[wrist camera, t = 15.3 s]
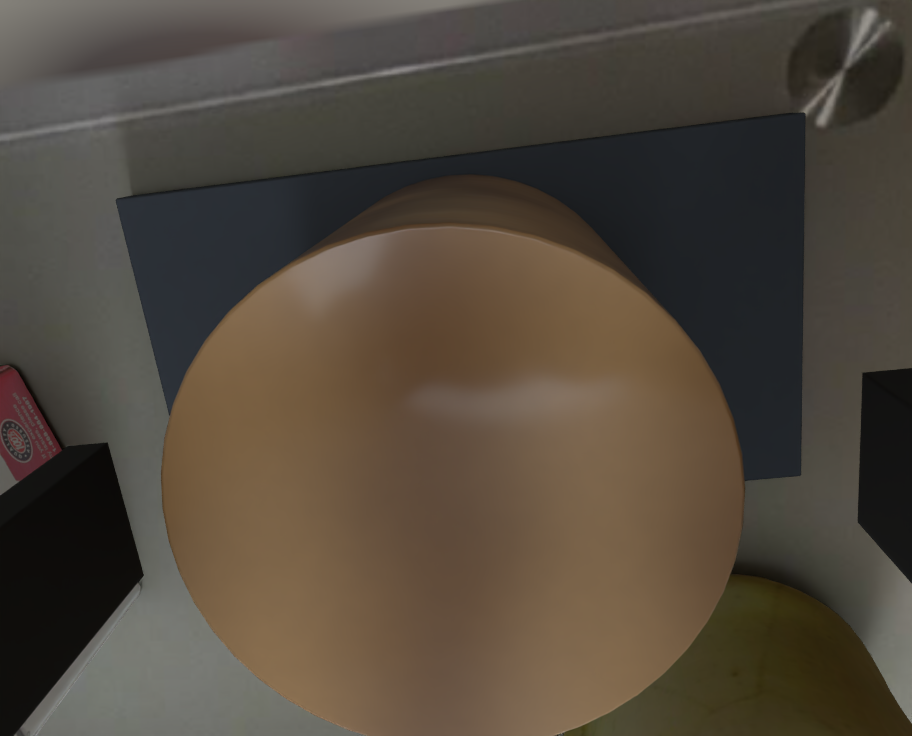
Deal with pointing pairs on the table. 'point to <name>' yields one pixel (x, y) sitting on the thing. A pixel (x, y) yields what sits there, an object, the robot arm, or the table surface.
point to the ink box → (5, 464)
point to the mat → (586, 193)
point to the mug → (764, 675)
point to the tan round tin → (454, 472)
